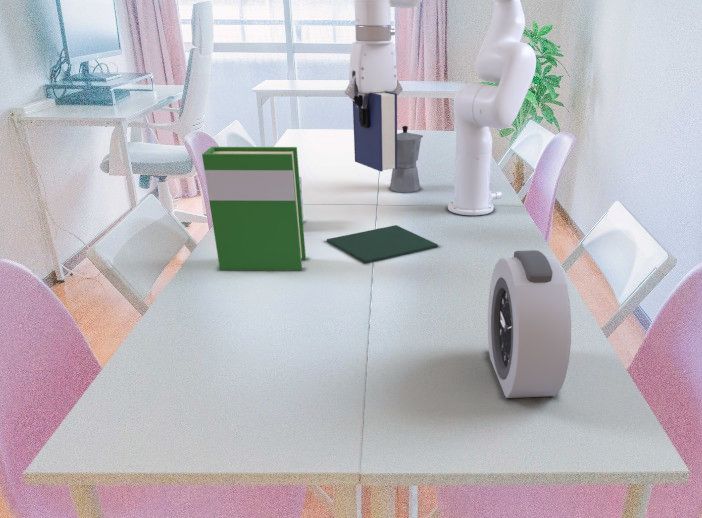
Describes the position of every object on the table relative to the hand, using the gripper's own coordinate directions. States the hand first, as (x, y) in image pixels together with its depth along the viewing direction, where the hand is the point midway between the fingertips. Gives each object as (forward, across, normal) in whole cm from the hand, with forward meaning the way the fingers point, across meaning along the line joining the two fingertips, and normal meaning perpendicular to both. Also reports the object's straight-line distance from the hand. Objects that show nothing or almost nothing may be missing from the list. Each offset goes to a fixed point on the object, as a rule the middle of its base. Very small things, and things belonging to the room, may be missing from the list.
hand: (374, 125), depth 151 cm
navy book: (+9, 0, 0) cm, 9 cm away
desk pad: (+25, +3, +7) cm, 27 cm away
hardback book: (+26, +32, +5) cm, 41 cm away
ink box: (+26, +15, -18) cm, 35 cm away
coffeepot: (+25, -28, -32) cm, 50 cm away
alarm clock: (+26, +17, +73) cm, 79 cm away
